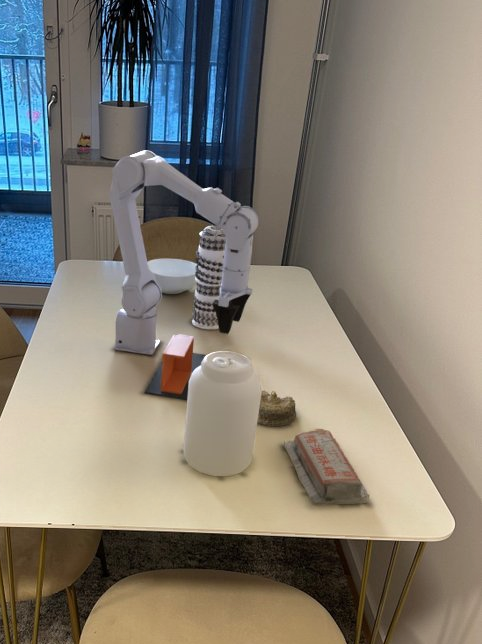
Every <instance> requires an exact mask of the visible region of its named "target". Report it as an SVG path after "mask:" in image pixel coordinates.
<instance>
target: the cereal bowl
mask: <svg viewBox="0 0 482 644" xmlns="http://www.w3.org/2000/svg"><path fill="white" fill-rule="evenodd" d="M147 263H148V268H149V270H150V271H151V272H152V273H153V274H154V275H155V279H156V282H157V283H158V285H159V286H160V288H161V291H162V294H166V295H178V294H181V293H183V292H186V291H189V290H191V289H193V288H195V287H196V286H197V282H196V280H195V278H196V276H195V272H196V268H195V267H196V266H197V263H196V262H193V261H190V260H186V259H180V258H167V257H166V258H164V257H163V258H155V259H151V260H147Z"/></svg>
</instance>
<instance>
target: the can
mask: <svg viewBox="0 0 482 644" xmlns="http://www.w3.org/2000/svg"><path fill="white" fill-rule="evenodd" d="M205 355H206V356H205V357H204V359H203V361H202V362H201V366H199V367H197V368H196V369H195V370H194V371H193V373H192V374H191V377H190V379H189V385H188V399H187V400H186V414H185V426H184V440H183V457H184V460H185V461H186V462H187V464H188V465H189V466H190V467H191V468H192V469H194V470H196V471H197V472H199V473H201V474H204V475H208V476H212V477H229V476H231V477H232V476H235V475H238V474H240V473H242V472H244V471H245V470H246V469H247V468H248V467H250V464H251V463H252V461H253V456H254V448H255V441H256V434H257V426H258V422H257V421H258V414H259V407H260V400H261V393H262V391H263V390H262V389H263V388H262V383H261V378H260V376H259V374H258V373H256V371H255V370H254V366H253V363H252V360H251V359H250V358H249V357H248V356H246V355H244V354H242V353H239V352H235V351H229V350H228V351H227V350H218V351H213V352H210V353H208V354H205Z"/></svg>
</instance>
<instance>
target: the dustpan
mask: <svg viewBox="0 0 482 644" xmlns="http://www.w3.org/2000/svg"><path fill="white" fill-rule="evenodd" d="M194 342H195V336H194V335H193V336H192V335H187V334H180V333H173V335H172V337H171V338H170V340H169V342H168V343H167V345H166V347H165V349H164V350H163V352H162V357H161V359H162V360H161V362H162V376H161V391H162V392H168V393H175V394H182V392H183V390H184V387H185V385H186V383H187V381H188V379H189V377H190V374H191V370H192V357H193V353H194Z"/></svg>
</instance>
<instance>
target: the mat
mask: <svg viewBox="0 0 482 644" xmlns="http://www.w3.org/2000/svg"><path fill="white" fill-rule="evenodd" d="M206 355H207V354H203V353H202V354H201V353H195V352H193V357H192V370H191V374H192V373H193V371H194V370H195V369H196V368H197V367H199V366H201V362H202V361H203V359H204V357H205V356H206ZM191 374H190V377H191ZM161 376H162V361H161V362H160V364H159V365H158V367H157V369H156V370H155V373H154V374H153V376H152V378H151V380H150V381H149V383H148V385H147V387H146V389H145V390H144V394H146V395H153V396H159V397H163V398H164V397H165V398H170V399H178V400H184V401H187V399H188V385H189V379H190V377H189V379H188V381H187V383H186V385H185V387H184V390H183V392H182V394H175V393H168V392H162V391H161Z"/></svg>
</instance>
